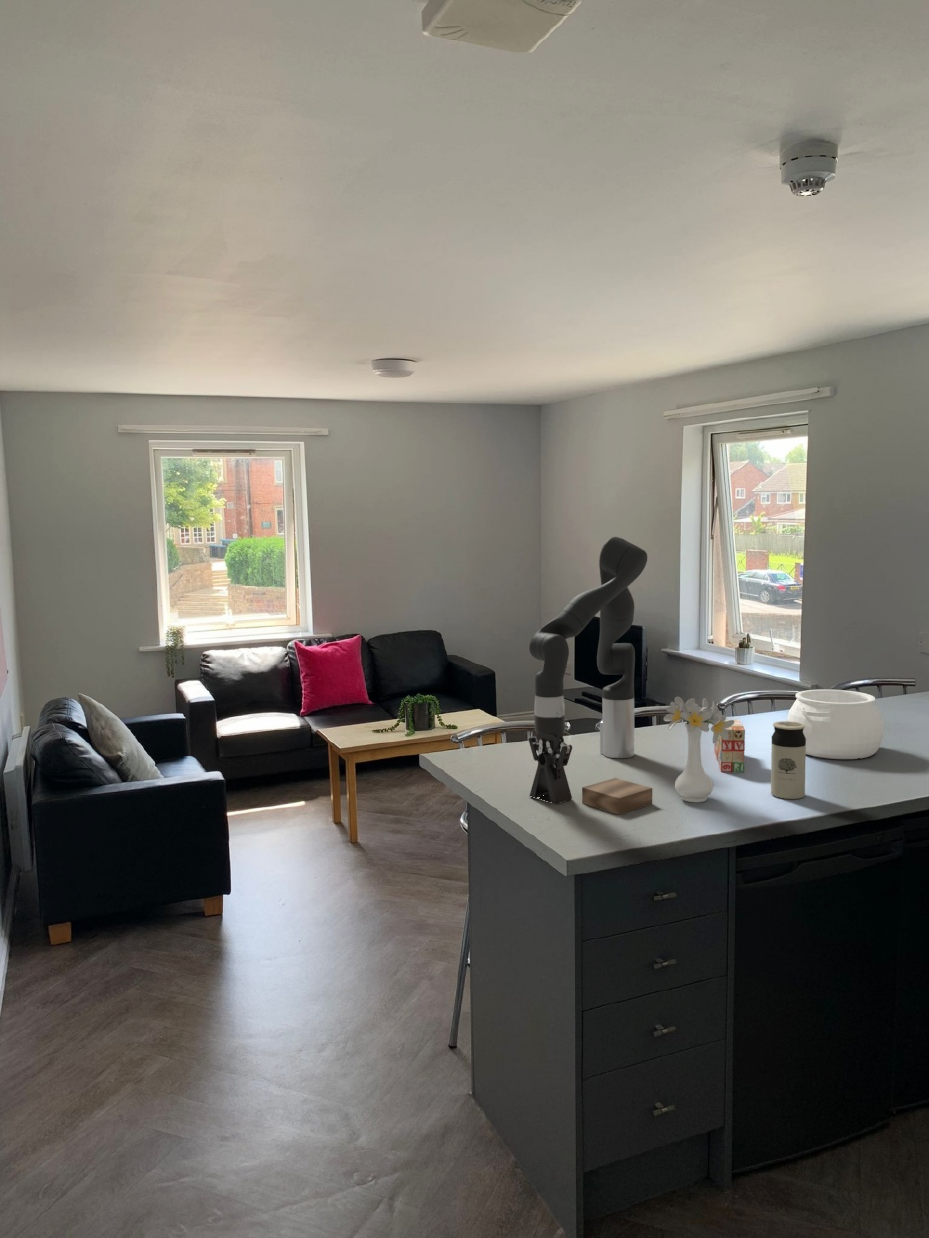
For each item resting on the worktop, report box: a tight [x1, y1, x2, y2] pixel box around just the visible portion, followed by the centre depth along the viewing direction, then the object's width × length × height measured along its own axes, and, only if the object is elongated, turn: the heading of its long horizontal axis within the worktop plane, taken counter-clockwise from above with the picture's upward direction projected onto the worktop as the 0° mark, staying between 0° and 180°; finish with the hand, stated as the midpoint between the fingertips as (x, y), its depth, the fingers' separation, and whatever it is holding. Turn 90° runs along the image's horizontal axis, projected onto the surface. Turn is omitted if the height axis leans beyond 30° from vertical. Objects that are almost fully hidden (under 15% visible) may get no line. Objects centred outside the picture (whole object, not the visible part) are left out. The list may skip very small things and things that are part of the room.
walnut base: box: [581, 777, 653, 816], centre depth 222 cm, size 12×12×4 cm
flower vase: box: [663, 696, 734, 804], centre depth 223 cm, size 13×18×25 cm
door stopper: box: [529, 752, 573, 805], centre depth 227 cm, size 9×6×12 cm, turn 43°
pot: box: [786, 689, 885, 760], centre depth 267 cm, size 29×26×16 cm
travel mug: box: [770, 720, 807, 800], centre depth 225 cm, size 8×8×18 cm
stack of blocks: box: [714, 718, 746, 774], centre depth 257 cm, size 21×6×12 cm, turn 170°
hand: (550, 780), depth 228 cm, fingers closed on door stopper, 3 cm apart
